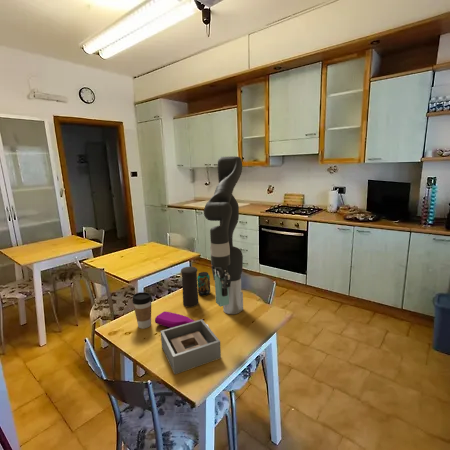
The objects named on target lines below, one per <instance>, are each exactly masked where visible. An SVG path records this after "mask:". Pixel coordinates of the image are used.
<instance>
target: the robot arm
mask: <svg viewBox="0 0 450 450" xmlns="http://www.w3.org/2000/svg"><path fill="white" fill-rule="evenodd" d="M242 173H243V161H242V158H241V157H240V156H235V155H233V156H220V157H219V158H218V160H217V179H218V184H217V185H216V188H215V190H214V193H213V195H212V196H211V197H210V199H208V201H207V202H206V203H205V206H204V209H203V215H204V216H203V217H204V218H205V219H206V221H207V220H208V221H211V222H214V221H215V222H218V221H219V225H216V226H212V227H211V228H210V230H209V236H210V238H209V239H210V263H211V271H212V272H211V273H212V278H213V281H215V275H218V276H219V278H220V282H221V287H222V296H223V297H224V296H227V295H228V292H227V287H228V288H229V304H228V305H224V306H222V308H223V312H224V313H225V314H228V315H236V314H239V313H241V312H242V311H244V293H243V291H242V273H243V269H244V268H243V263H244V260H243V259H244V258H243V257H244V256H243V252H242V250H241V249H240V247H236V246H234V245H233V242H234V241H233V237H234V236H233V235H234V231H235V229H236V227H237V224H238V222H239V216H240V215H239V214H240V213H239V212H240V210H239V208H240V206H239V204H238V200H237V199H236V198H235V196H234V195H233V192H234V189H235V187H236V185H237V184H238V181H239V180H240V177H241V175H242ZM221 278H222V279H223V278H224V280H222V279H221ZM223 282H224V285H223Z"/></svg>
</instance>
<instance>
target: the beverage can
mask: <svg viewBox="0 0 450 450" xmlns="http://www.w3.org/2000/svg"><path fill="white" fill-rule="evenodd" d="M197 287H198V295H200V296H202V295H206V296H209V295H210V294H211V276H210V275H209V272H207V271H201V272H199V273H197Z"/></svg>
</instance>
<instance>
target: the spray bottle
mask: <svg viewBox="0 0 450 450" xmlns="http://www.w3.org/2000/svg"><path fill="white" fill-rule="evenodd" d="M194 321H195V320H194V319H192V318H190V317H188V316H186V315H183V314H179V313H176V312H171V311H163V312H161V313H159V314H158V315H157V316H155V319H154V323H155V324H156V325H160V326H164V327H167V328H173V327H176V326H180V325H183V324H187V323H190V322H194ZM206 325H207V326H208V327H209V324H207V323H206ZM209 328H210V327H209Z"/></svg>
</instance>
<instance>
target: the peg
mask: <svg viewBox="0 0 450 450" xmlns="http://www.w3.org/2000/svg"><path fill="white" fill-rule="evenodd" d="M221 279H222V278H221ZM222 280H224V278H223V279H222ZM223 285H224V282H223ZM214 289H215V303H216V305H218V306H219V307H223V306H224V305H228V304H229V288H228V287H227V292H228V295H227V296H224V297H223V296H222V287H221V282H220V278H219V276H218V275H215V280H214Z"/></svg>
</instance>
